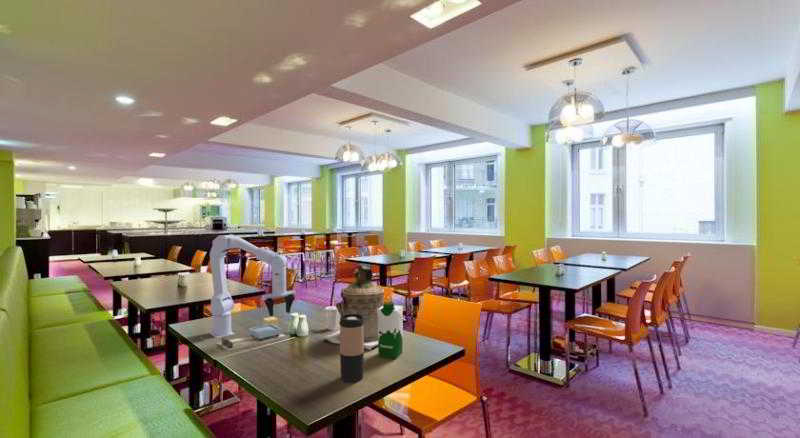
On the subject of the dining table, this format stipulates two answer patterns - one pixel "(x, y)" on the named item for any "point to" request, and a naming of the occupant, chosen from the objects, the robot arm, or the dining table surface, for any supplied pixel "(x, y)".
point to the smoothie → (332, 316)
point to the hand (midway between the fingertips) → (279, 314)
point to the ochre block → (270, 321)
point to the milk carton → (390, 330)
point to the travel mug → (351, 347)
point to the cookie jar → (361, 305)
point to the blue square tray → (265, 331)
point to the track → (245, 341)
